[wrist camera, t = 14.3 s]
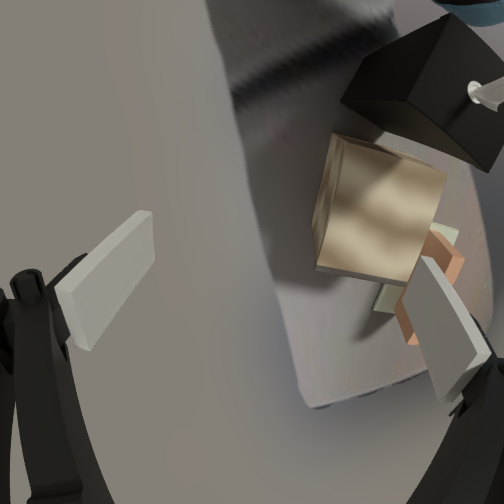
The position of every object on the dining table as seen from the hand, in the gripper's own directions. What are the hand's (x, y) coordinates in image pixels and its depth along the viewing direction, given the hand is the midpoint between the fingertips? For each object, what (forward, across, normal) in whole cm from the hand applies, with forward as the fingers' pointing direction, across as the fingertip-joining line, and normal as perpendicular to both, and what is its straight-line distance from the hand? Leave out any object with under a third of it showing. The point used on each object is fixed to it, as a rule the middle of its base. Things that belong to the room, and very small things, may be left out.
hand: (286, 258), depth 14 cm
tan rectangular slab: (+29, +24, -15) cm, 41 cm away
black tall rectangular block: (+30, +10, +10) cm, 34 cm away
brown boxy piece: (+30, +11, -4) cm, 32 cm away
